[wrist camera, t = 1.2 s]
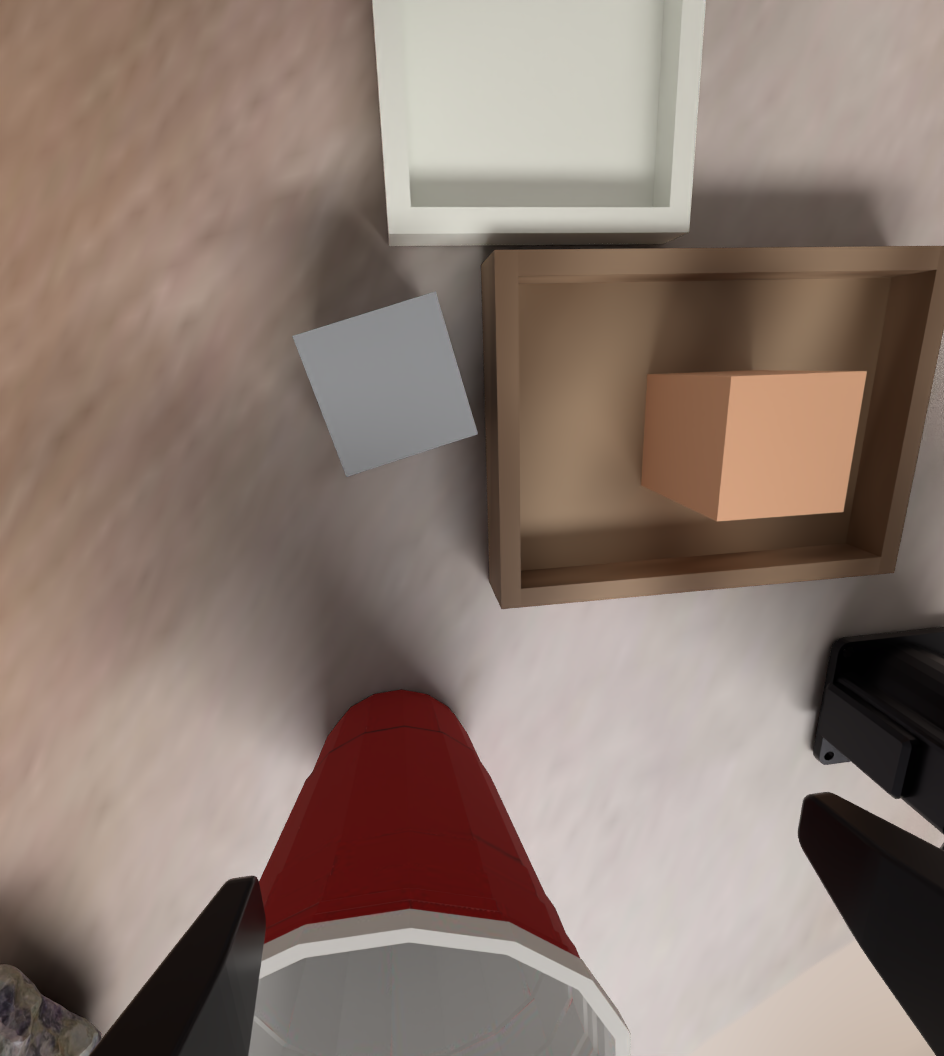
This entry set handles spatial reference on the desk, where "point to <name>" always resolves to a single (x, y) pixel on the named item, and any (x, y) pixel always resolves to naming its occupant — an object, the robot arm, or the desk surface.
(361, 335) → the slate rubber block
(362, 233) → the desk surface
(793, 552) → the walnut box
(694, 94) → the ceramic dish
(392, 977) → the plastic cup
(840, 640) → the robot arm
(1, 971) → the mineral rock
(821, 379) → the terracotta block
